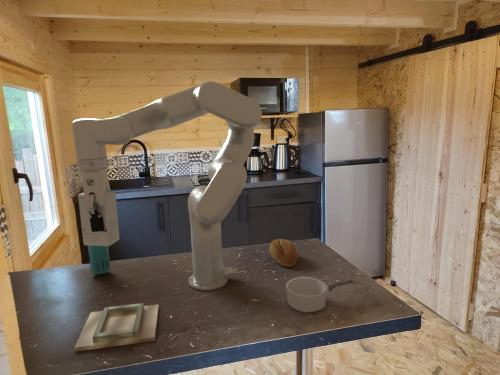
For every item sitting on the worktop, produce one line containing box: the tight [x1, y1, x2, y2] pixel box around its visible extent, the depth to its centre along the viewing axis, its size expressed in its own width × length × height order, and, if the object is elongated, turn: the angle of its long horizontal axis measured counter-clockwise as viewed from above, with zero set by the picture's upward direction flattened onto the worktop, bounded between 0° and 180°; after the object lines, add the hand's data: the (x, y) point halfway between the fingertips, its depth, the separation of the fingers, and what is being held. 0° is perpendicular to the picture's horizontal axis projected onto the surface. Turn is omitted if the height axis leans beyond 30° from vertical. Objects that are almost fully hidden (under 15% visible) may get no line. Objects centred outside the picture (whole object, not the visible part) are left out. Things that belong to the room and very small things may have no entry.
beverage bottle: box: [87, 245, 111, 275], centre depth 117 cm, size 6×7×20 cm
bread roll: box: [268, 238, 299, 268], centre depth 126 cm, size 10×15×8 cm, turn 16°
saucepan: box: [285, 276, 355, 313], centre depth 98 cm, size 12×20×6 cm, turn 102°
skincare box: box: [77, 190, 120, 247], centre depth 97 cm, size 8×6×15 cm
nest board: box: [73, 302, 160, 352], centre depth 88 cm, size 18×15×2 cm
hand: (101, 226), depth 97 cm, fingers closed on skincare box, 7 cm apart
